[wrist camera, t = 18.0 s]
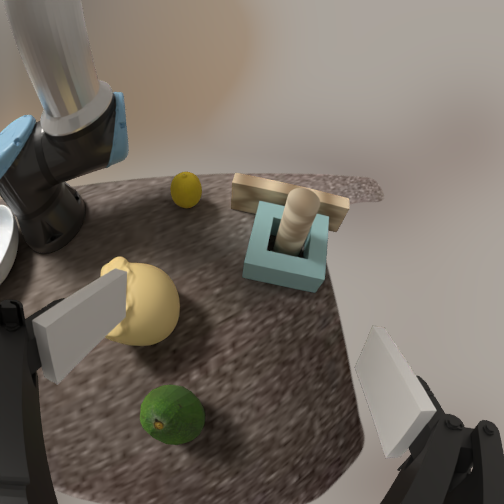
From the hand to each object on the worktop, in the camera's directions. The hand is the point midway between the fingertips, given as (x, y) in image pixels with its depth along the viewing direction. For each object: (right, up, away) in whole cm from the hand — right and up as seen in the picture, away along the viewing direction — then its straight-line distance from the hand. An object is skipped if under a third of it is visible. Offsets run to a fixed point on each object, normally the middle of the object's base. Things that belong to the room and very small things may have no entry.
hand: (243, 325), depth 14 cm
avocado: (-10, -19, +20) cm, 29 cm away
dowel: (+6, +3, +35) cm, 35 cm away
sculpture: (-16, -6, +27) cm, 32 cm away
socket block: (+6, +3, +35) cm, 35 cm away
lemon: (-11, +12, +39) cm, 42 cm away
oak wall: (+7, +10, +39) cm, 41 cm away
